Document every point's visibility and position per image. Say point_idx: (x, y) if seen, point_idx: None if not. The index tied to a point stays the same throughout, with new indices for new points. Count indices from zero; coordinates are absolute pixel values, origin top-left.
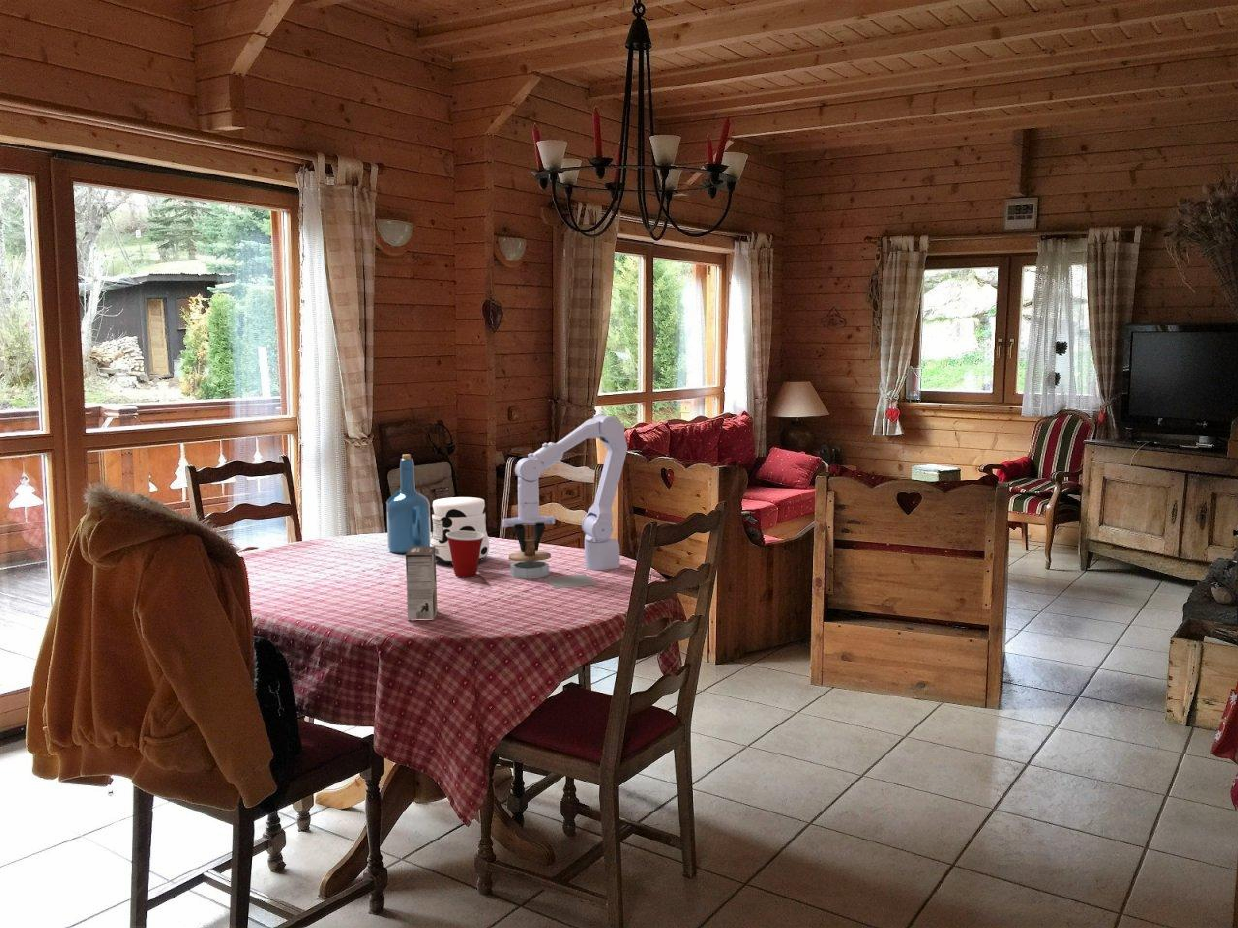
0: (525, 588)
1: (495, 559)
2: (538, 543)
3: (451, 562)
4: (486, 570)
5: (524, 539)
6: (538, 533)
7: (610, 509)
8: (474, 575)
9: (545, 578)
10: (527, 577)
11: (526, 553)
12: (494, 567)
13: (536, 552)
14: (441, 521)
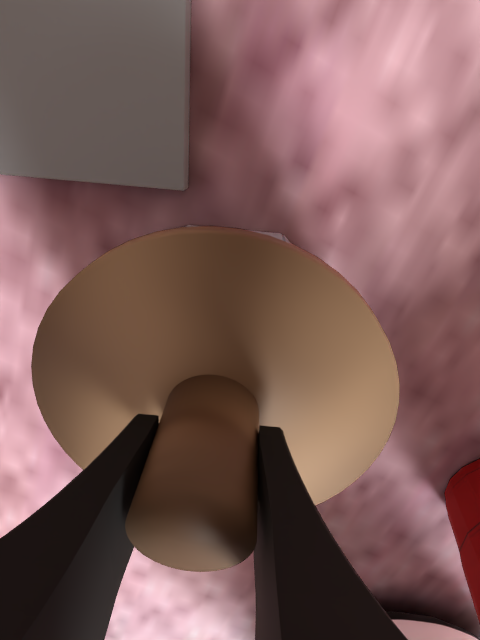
0: (373, 42)
1: (255, 622)
2: (101, 459)
3: (461, 628)
4: (364, 519)
5: (276, 528)
6: (31, 577)
7: None
8: (470, 465)
9: (171, 172)
10: (282, 239)
11: (250, 405)
12: None
13: None
14: None
